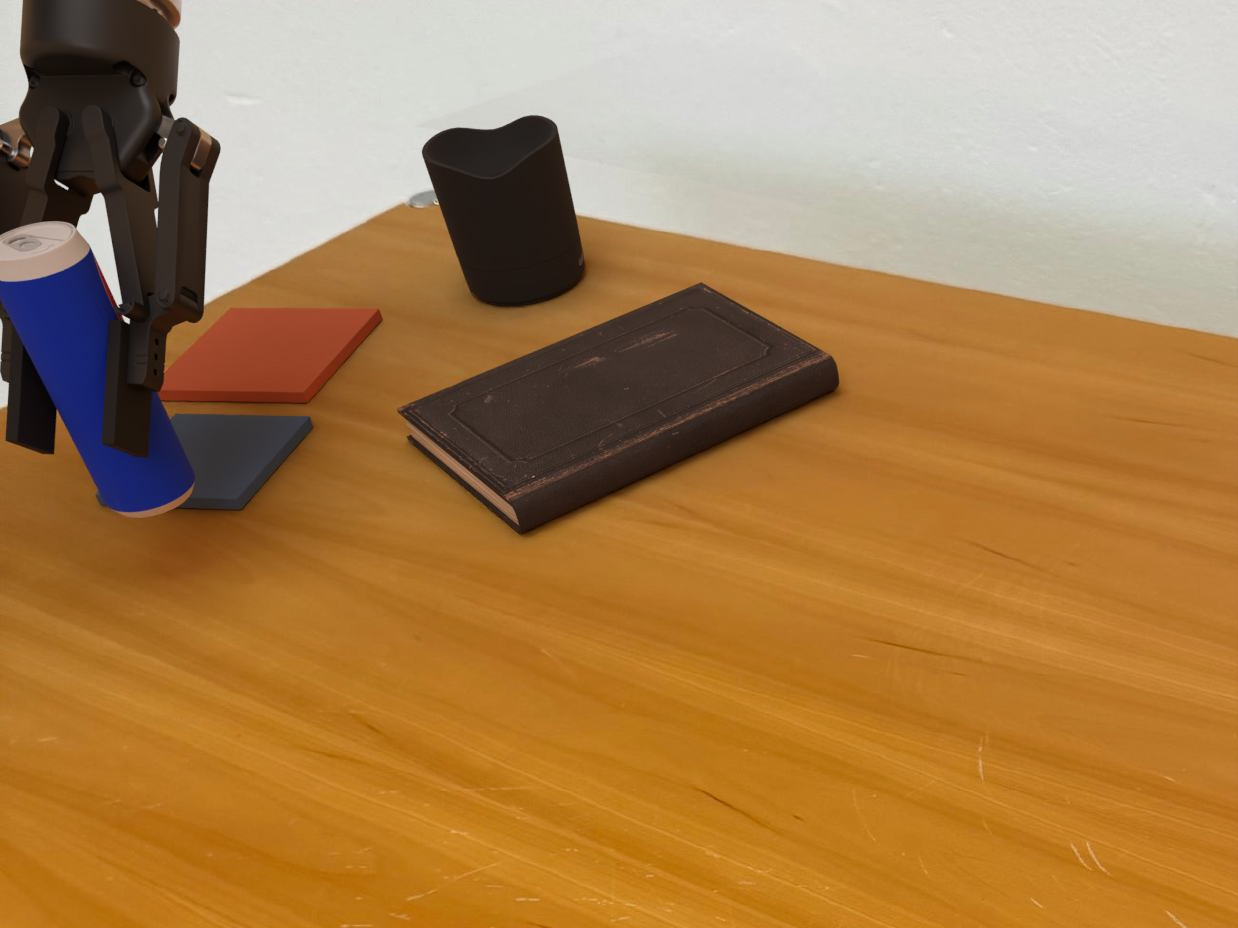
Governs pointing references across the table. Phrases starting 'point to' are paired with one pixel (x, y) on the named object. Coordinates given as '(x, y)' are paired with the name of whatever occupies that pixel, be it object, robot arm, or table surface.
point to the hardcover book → (615, 403)
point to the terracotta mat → (268, 354)
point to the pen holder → (508, 209)
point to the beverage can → (85, 363)
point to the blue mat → (234, 454)
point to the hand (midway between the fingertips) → (77, 448)
